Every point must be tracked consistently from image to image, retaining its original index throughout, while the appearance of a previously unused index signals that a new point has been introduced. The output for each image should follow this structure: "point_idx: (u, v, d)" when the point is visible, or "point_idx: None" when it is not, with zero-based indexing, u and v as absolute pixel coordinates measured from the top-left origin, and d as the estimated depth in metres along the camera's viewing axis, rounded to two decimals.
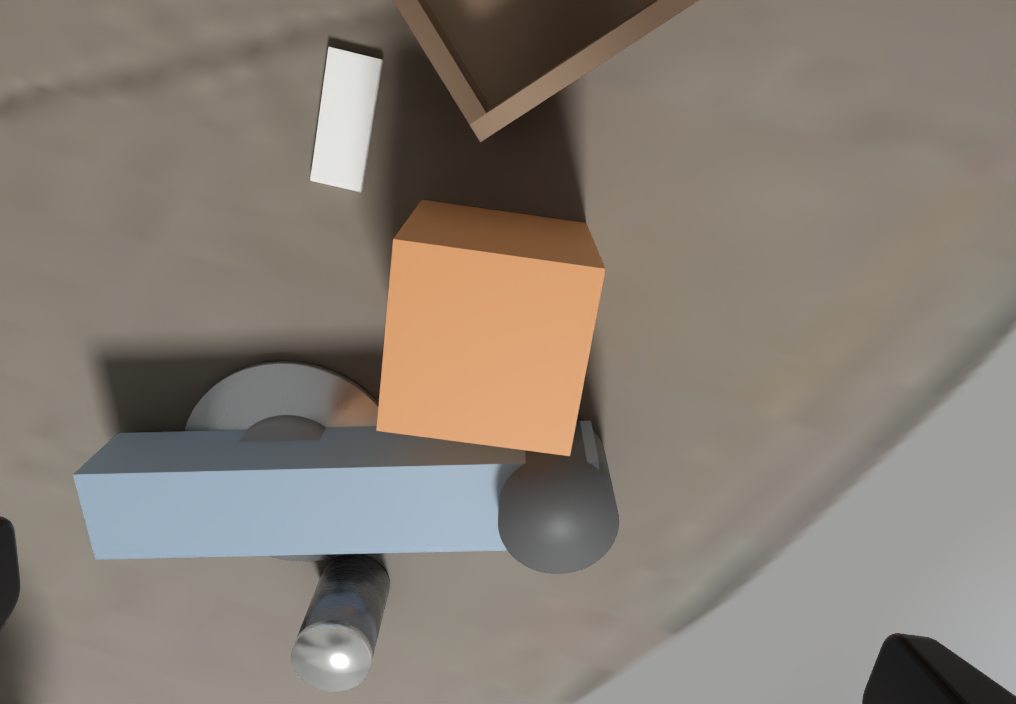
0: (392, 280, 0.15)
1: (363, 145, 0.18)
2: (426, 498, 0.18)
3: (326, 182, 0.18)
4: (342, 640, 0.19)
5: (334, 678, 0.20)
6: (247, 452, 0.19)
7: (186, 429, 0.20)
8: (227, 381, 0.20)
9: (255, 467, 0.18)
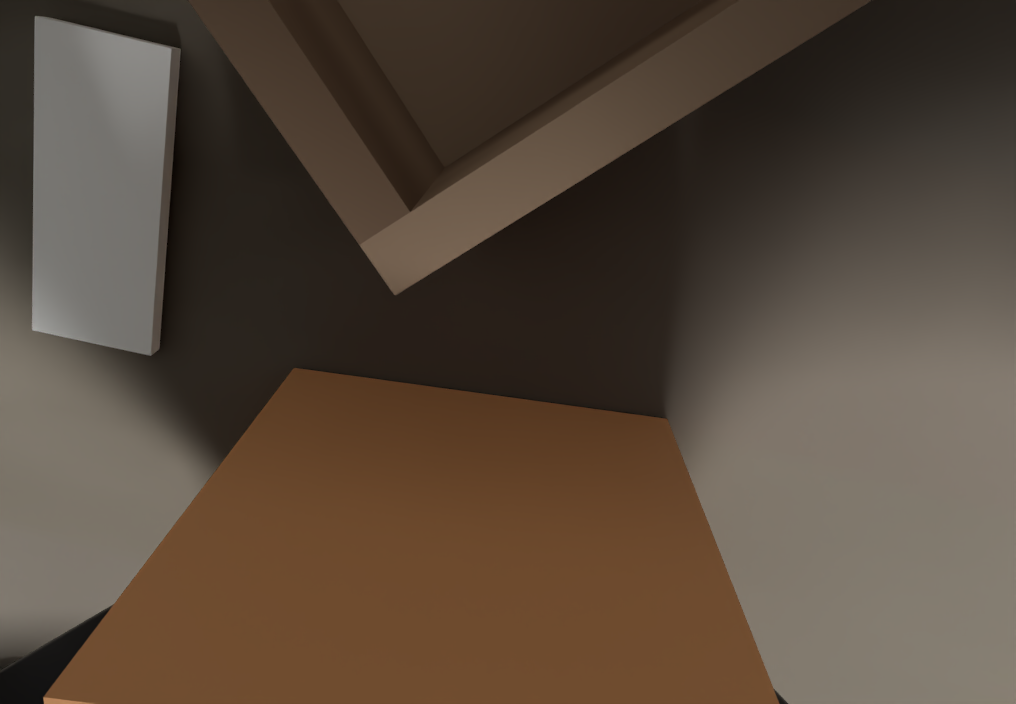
0: None
1: (147, 253, 0.07)
2: None
3: (70, 334, 0.08)
4: None
5: None
6: None
7: None
8: None
9: None
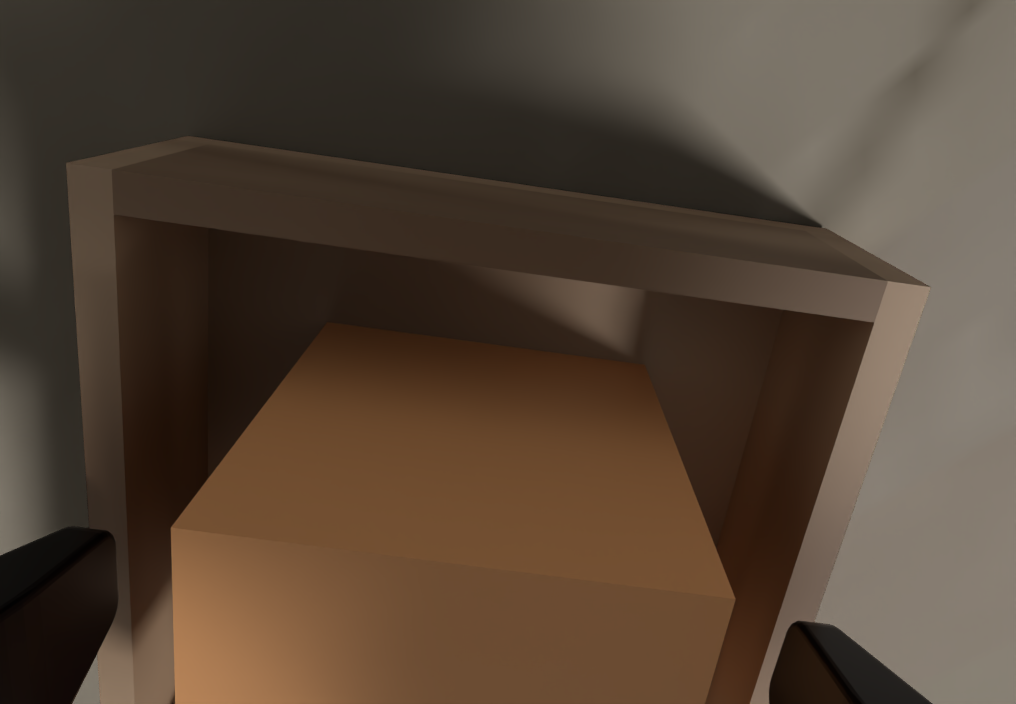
0: (181, 618, 0.06)
1: None
2: None
3: None
4: None
5: None
6: None
7: None
8: None
9: None
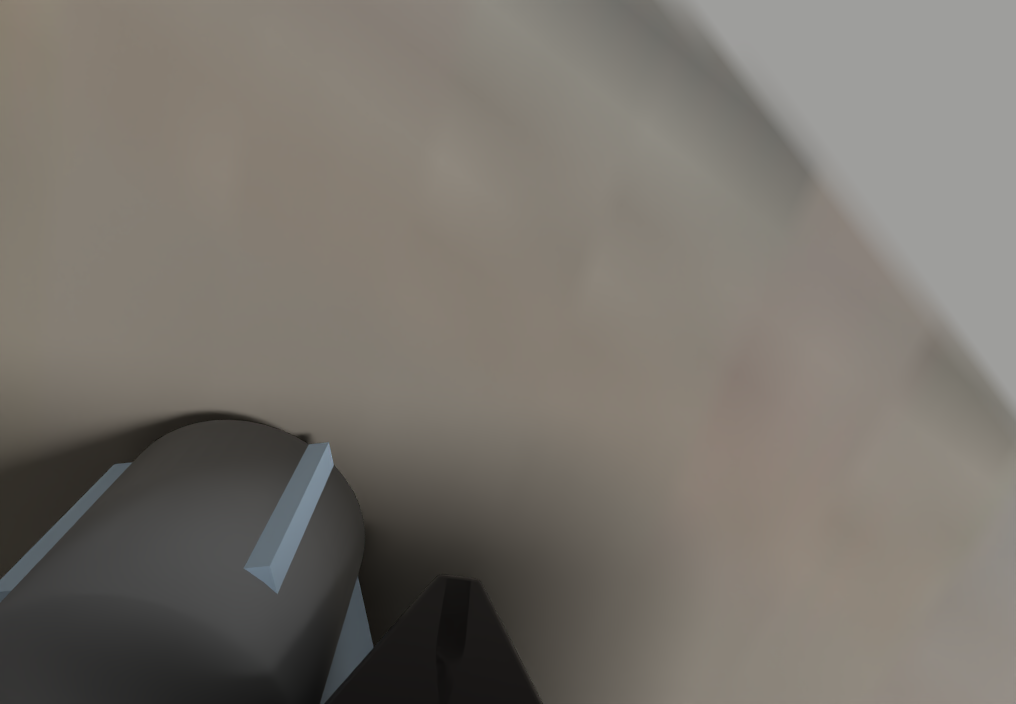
0: None
1: None
2: None
3: None
4: None
5: None
6: None
7: None
8: None
9: None
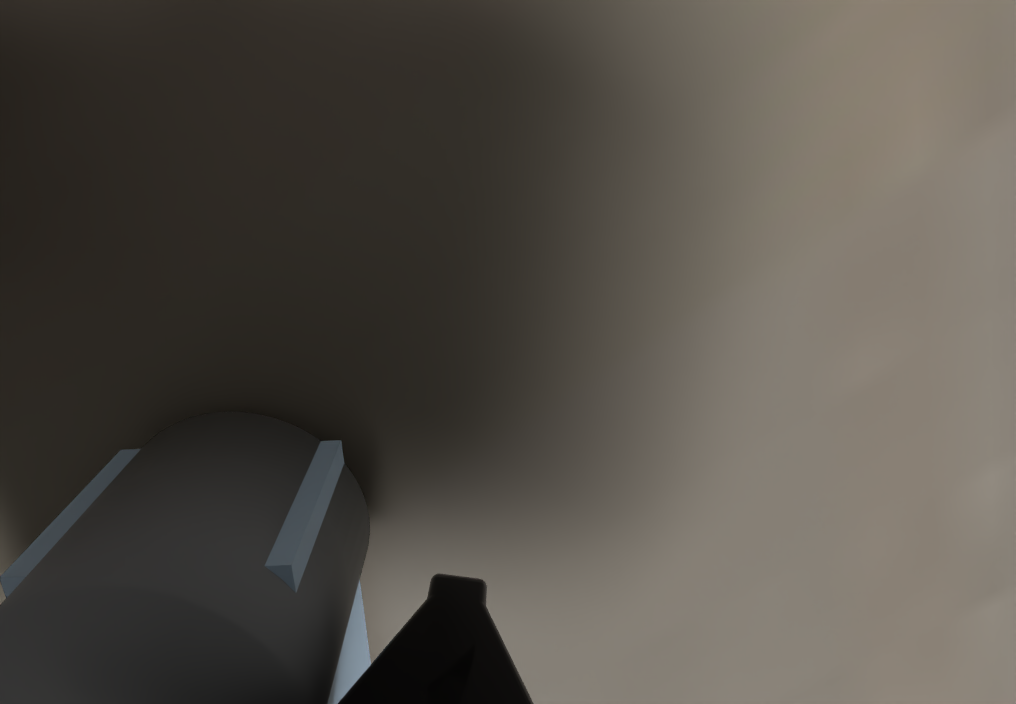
0: None
1: None
2: None
3: None
4: None
5: None
6: None
7: None
8: None
9: None
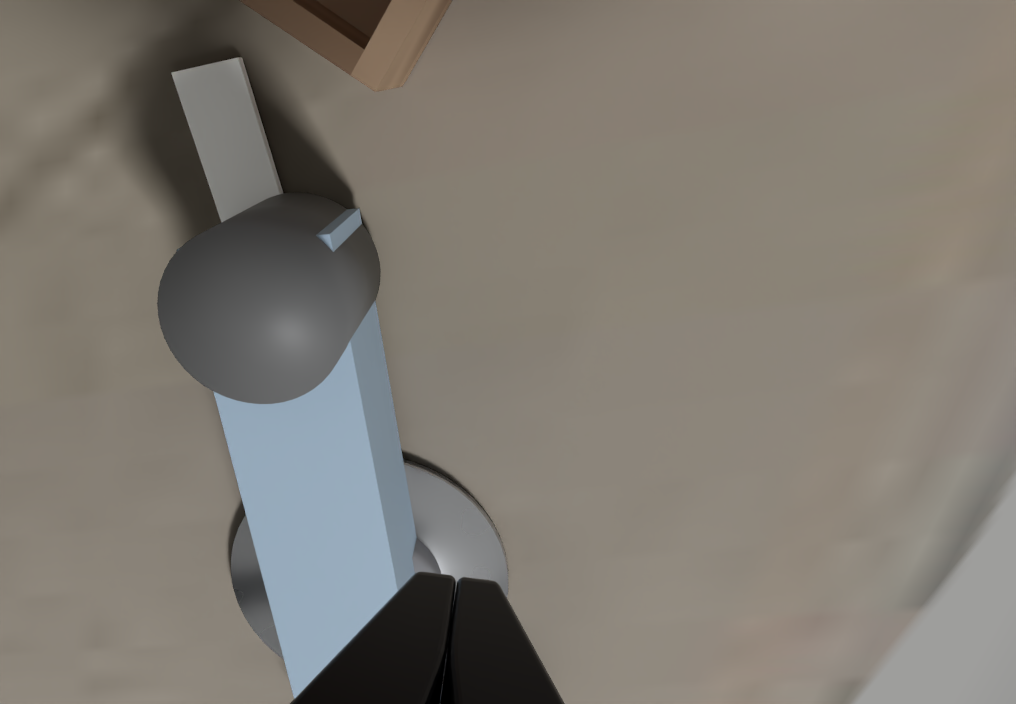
0: None
1: (267, 172, 0.14)
2: (287, 478, 0.13)
3: None
4: None
5: None
6: None
7: (234, 584, 0.17)
8: None
9: (287, 664, 0.15)
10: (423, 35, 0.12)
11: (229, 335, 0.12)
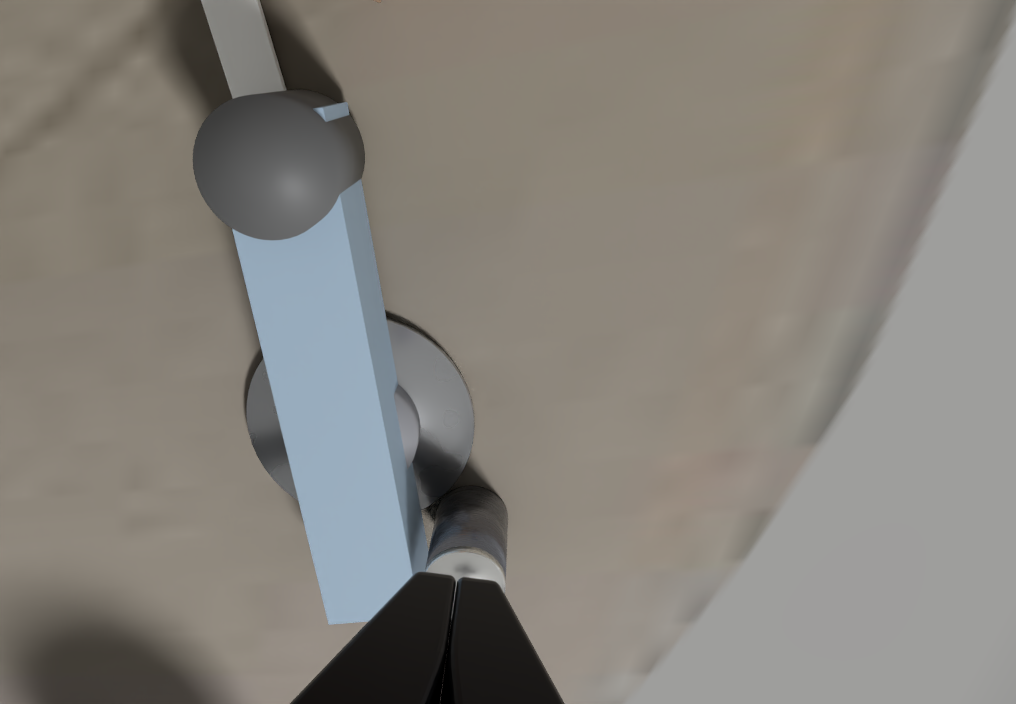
0: None
1: (274, 74, 0.17)
2: (292, 311, 0.17)
3: None
4: (465, 563, 0.18)
5: None
6: None
7: (249, 427, 0.20)
8: (262, 364, 0.20)
9: (293, 474, 0.18)
10: None
11: (247, 183, 0.15)
